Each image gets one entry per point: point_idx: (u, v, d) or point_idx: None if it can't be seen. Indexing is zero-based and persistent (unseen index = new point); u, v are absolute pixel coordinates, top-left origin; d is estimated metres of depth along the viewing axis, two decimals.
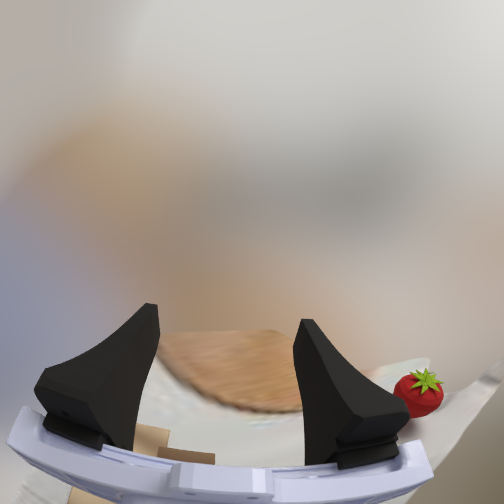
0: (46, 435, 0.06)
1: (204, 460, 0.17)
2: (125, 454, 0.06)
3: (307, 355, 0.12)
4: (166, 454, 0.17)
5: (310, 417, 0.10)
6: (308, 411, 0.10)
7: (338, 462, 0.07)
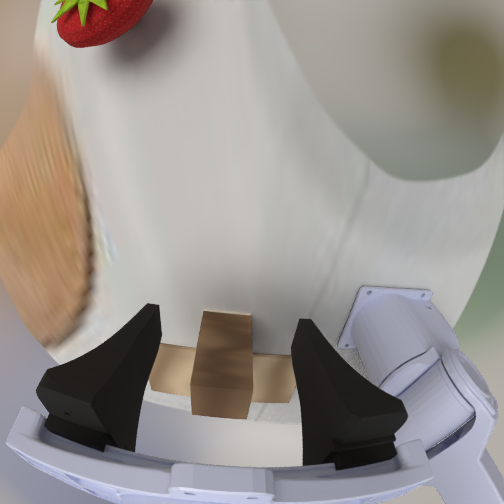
0: (46, 435, 0.06)
1: (201, 391, 0.18)
2: (125, 454, 0.06)
3: (305, 355, 0.12)
4: (200, 411, 0.20)
5: (308, 417, 0.10)
6: (306, 411, 0.10)
7: (335, 463, 0.07)
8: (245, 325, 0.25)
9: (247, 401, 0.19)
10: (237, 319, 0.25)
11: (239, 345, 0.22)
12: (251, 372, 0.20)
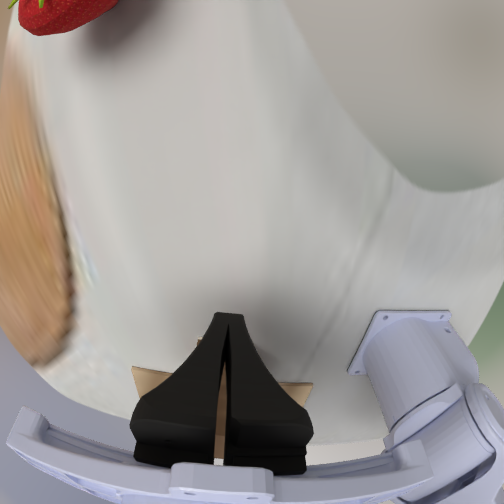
0: (46, 435, 0.06)
1: None
2: (125, 454, 0.06)
3: (228, 351, 0.11)
4: None
5: (226, 416, 0.10)
6: None
7: None
8: None
9: None
10: None
11: None
12: None
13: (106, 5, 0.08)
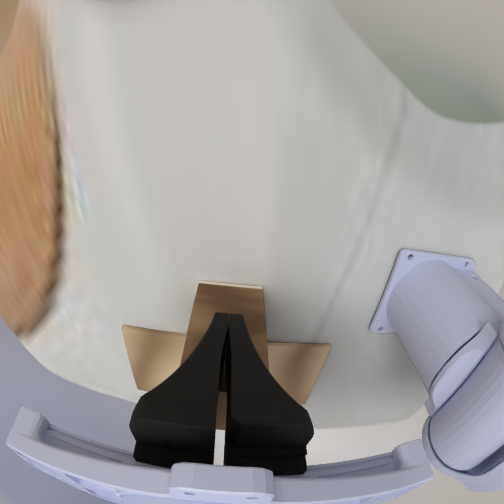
0: (46, 435, 0.06)
1: None
2: (125, 454, 0.06)
3: (228, 351, 0.11)
4: None
5: (226, 416, 0.10)
6: None
7: None
8: (255, 301, 0.18)
9: None
10: (244, 294, 0.19)
11: (248, 328, 0.16)
12: (266, 367, 0.14)
13: None
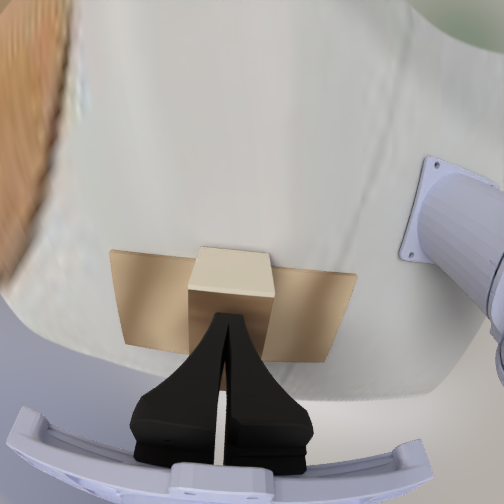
0: (46, 435, 0.06)
1: None
2: (125, 454, 0.06)
3: (228, 351, 0.11)
4: None
5: (226, 416, 0.10)
6: None
7: None
8: (259, 318, 0.15)
9: None
10: (247, 307, 0.15)
11: None
12: None
13: None
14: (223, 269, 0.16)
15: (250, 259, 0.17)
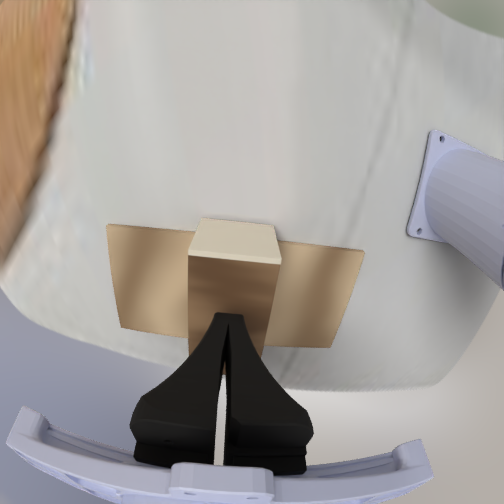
0: (46, 435, 0.06)
1: None
2: (125, 454, 0.06)
3: (228, 351, 0.11)
4: None
5: (226, 416, 0.10)
6: None
7: None
8: (264, 289, 0.14)
9: None
10: (252, 275, 0.14)
11: (249, 325, 0.15)
12: None
13: None
14: (226, 237, 0.15)
15: (254, 229, 0.16)
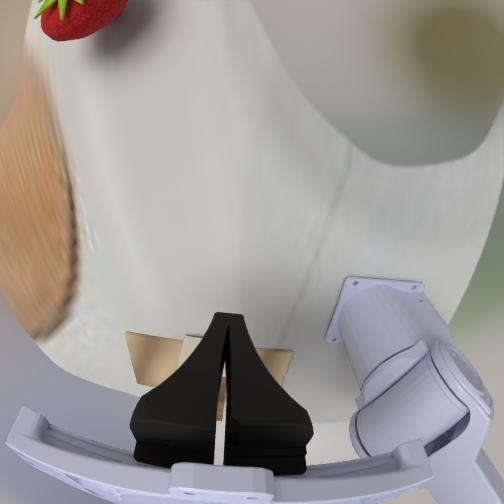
0: (46, 435, 0.06)
1: None
2: (125, 454, 0.06)
3: (228, 351, 0.11)
4: None
5: (226, 416, 0.10)
6: None
7: None
8: None
9: None
10: None
11: None
12: (221, 413, 0.26)
13: (111, 18, 0.11)
14: None
15: None
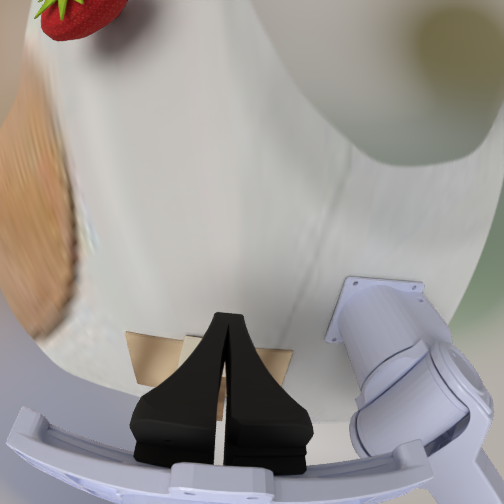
0: (46, 435, 0.06)
1: None
2: (125, 454, 0.06)
3: (228, 351, 0.11)
4: None
5: (226, 416, 0.10)
6: None
7: None
8: None
9: None
10: None
11: None
12: (221, 413, 0.26)
13: (111, 18, 0.11)
14: None
15: None
